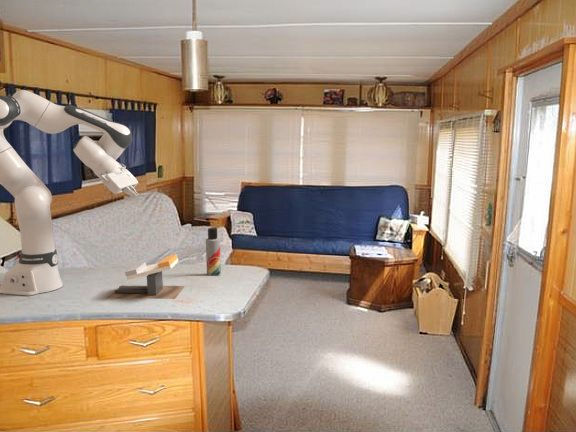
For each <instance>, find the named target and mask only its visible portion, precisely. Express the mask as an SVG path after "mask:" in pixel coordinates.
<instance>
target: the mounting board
mask: <svg viewBox="0 0 576 432" xmlns="http://www.w3.org/2000/svg"><path fill="white" fill-rule="evenodd" d="M121 286H127V284H126V285H124V284H123V285H121ZM185 287H186V285H163V289H162V290H161V291H160V292H159V293H158V294H157V295H156V296H148V294H121V293H115V290H114V291H113V292H112V293H111V294H110V295H108V296H106V299H144V300H146V299H148V300H149V299H151V300H152V299H154V300H155V299H156V300H157V299H160V300H163V299H165V300H166V299H167V300H168V299H169V300H175V299H177V297H178V296H179V295H180V294H181V292H182V291H183V290H184V289H185ZM117 289H119V287H118V288H117Z"/></svg>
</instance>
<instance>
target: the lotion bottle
mask: <svg viewBox="0 0 576 432" xmlns="http://www.w3.org/2000/svg"><path fill="white" fill-rule="evenodd" d="M220 239H221V238H219V237H218V228H217V227H215V226H212V227H209V228H207V238H206V239H205V253H206V254H205V259H206V276H207V277H220V276H222V272H221V271H222V267H221V265H222V264H221V259H222V258H221V240H220Z"/></svg>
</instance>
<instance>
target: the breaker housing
mask: <svg viewBox="0 0 576 432" xmlns="http://www.w3.org/2000/svg"><path fill="white" fill-rule="evenodd" d="M163 283H164V282H163V271H161V272H157V273H153V274H149V275H146V286H147V291H148V296H156V295H157V294H158V293H159V292H160V291H161V290H162V289H163V286H164V284H163Z"/></svg>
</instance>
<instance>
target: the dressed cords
mask: <svg viewBox="0 0 576 432" xmlns="http://www.w3.org/2000/svg"><path fill="white" fill-rule="evenodd" d="M118 288H119V289H118ZM118 288H117V289H114V291H115V293H121V294H148V291H147V285H126V286H122V285H119V286H118Z"/></svg>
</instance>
